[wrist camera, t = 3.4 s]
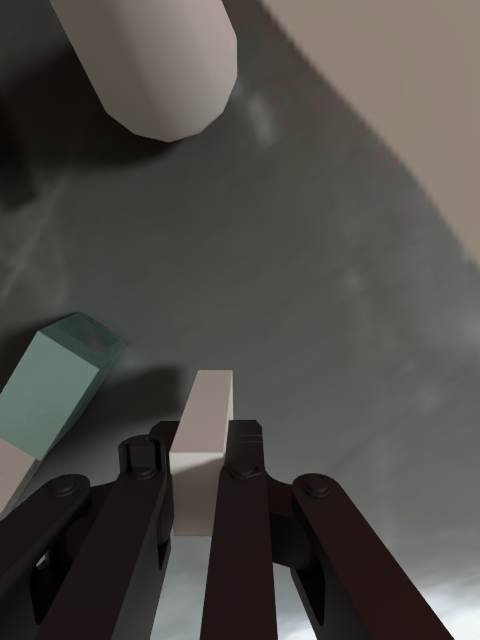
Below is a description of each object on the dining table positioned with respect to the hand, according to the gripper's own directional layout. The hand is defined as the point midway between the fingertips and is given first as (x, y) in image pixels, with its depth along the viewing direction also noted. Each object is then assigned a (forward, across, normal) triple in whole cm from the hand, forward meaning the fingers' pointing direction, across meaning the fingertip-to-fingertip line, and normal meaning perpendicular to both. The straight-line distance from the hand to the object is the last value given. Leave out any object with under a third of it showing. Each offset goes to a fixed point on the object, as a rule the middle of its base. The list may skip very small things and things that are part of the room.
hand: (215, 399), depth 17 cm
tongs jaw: (+3, +12, +6) cm, 14 cm away
